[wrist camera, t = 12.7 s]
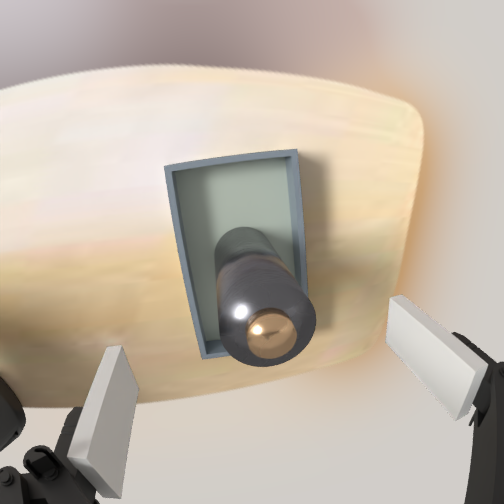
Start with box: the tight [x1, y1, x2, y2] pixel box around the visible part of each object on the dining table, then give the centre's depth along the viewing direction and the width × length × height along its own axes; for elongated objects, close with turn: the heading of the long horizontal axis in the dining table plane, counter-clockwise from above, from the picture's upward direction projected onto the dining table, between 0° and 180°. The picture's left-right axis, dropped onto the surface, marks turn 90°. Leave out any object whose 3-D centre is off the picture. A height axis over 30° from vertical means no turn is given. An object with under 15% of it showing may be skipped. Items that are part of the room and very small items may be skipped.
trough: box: [164, 149, 308, 359], centre depth 26 cm, size 10×17×3 cm, turn 7°
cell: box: [214, 227, 316, 367], centre depth 21 cm, size 5×5×13 cm
